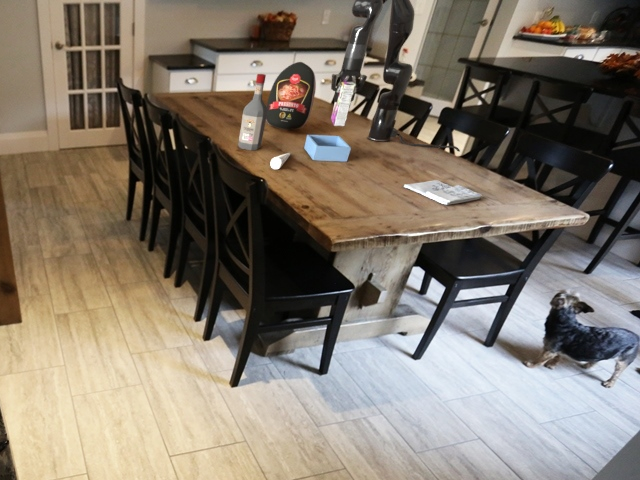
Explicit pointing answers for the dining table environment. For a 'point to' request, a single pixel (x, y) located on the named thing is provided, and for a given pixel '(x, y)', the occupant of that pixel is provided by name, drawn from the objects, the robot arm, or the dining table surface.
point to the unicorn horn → (279, 161)
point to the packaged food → (291, 97)
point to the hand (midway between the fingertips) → (342, 101)
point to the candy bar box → (343, 104)
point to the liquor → (254, 119)
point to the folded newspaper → (444, 192)
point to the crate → (327, 148)
